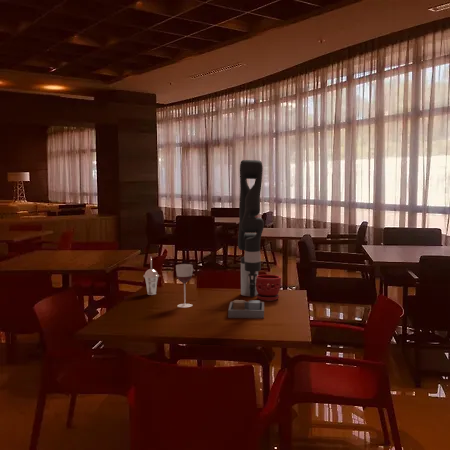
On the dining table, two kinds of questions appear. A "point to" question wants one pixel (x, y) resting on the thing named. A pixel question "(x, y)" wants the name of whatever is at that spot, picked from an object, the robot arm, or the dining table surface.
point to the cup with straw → (151, 280)
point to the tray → (246, 312)
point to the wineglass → (184, 278)
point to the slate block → (254, 304)
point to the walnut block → (239, 305)
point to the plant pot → (268, 287)
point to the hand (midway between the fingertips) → (252, 294)
